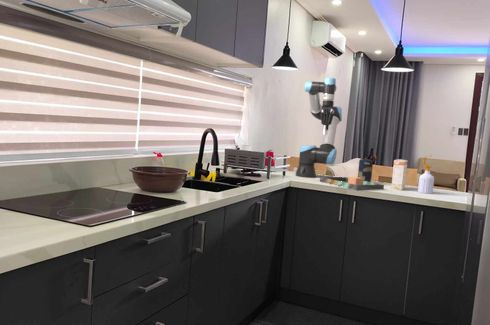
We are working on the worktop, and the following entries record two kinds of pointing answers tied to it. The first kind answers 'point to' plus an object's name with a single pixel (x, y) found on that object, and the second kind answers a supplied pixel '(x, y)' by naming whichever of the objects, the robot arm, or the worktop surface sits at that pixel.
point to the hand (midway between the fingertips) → (325, 134)
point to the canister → (365, 169)
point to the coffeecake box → (399, 174)
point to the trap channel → (345, 183)
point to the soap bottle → (426, 181)
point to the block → (355, 180)
